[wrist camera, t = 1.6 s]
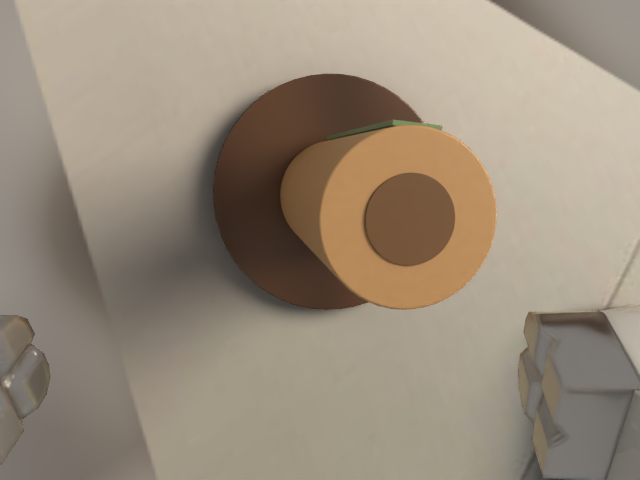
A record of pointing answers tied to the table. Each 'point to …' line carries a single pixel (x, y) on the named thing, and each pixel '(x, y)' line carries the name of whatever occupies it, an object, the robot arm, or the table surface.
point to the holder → (268, 171)
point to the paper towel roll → (393, 211)
